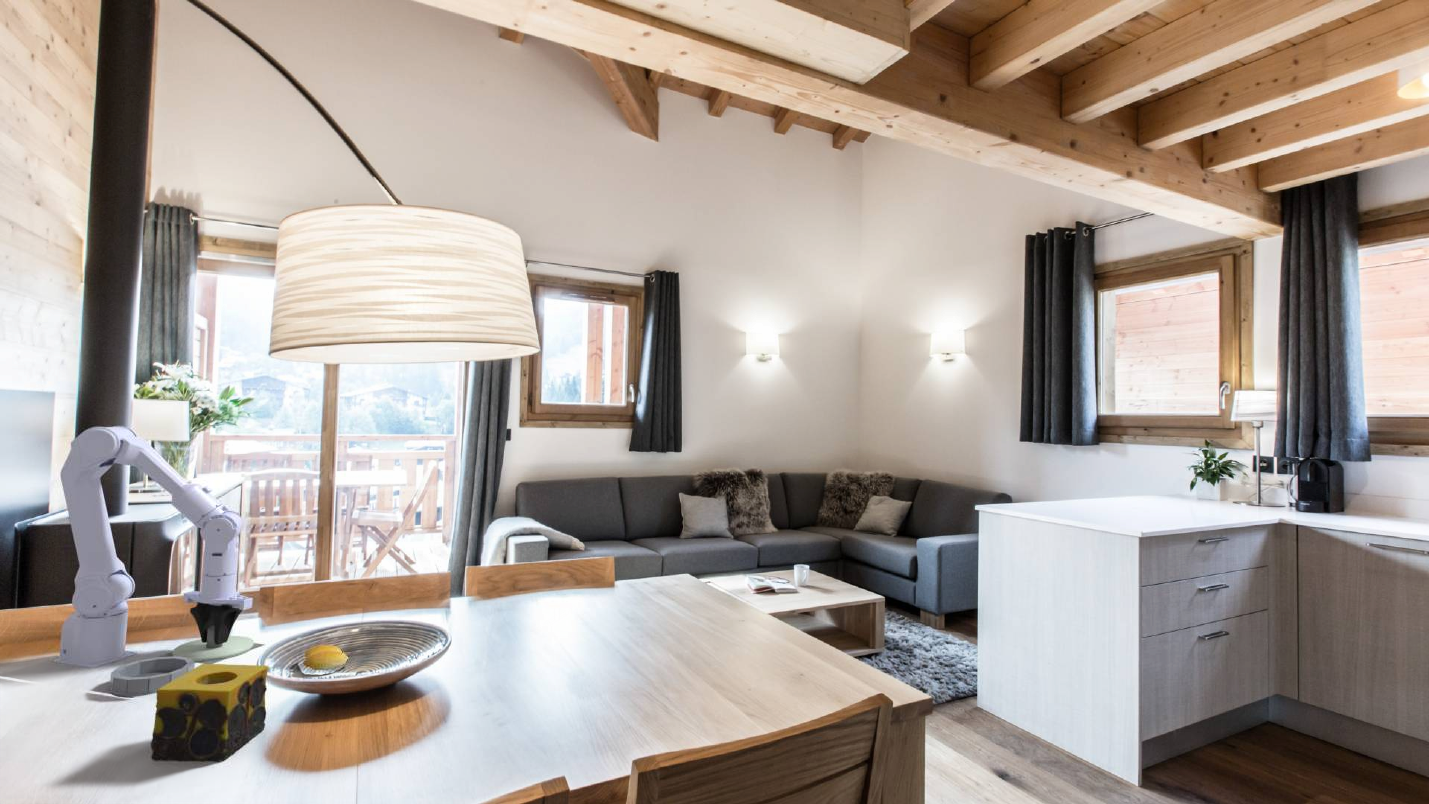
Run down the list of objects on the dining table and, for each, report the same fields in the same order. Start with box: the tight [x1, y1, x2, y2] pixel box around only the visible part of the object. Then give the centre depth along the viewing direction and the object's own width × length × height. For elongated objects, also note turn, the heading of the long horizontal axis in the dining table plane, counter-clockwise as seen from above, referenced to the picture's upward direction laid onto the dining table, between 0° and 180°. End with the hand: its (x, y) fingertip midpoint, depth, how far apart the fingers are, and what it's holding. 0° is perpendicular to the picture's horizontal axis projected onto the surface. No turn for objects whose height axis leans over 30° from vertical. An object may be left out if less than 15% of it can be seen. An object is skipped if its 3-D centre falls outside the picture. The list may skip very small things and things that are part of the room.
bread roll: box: [303, 644, 349, 670], centre depth 130 cm, size 8×9×4 cm
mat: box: [158, 642, 266, 664], centre depth 135 cm, size 12×12×1 cm
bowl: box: [109, 656, 196, 699], centre depth 118 cm, size 11×11×3 cm
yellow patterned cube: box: [150, 663, 269, 762], centre depth 99 cm, size 10×10×10 cm
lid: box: [172, 627, 255, 663], centre depth 135 cm, size 13×13×4 cm
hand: (214, 642), depth 135 cm, fingers closed on lid, 3 cm apart
